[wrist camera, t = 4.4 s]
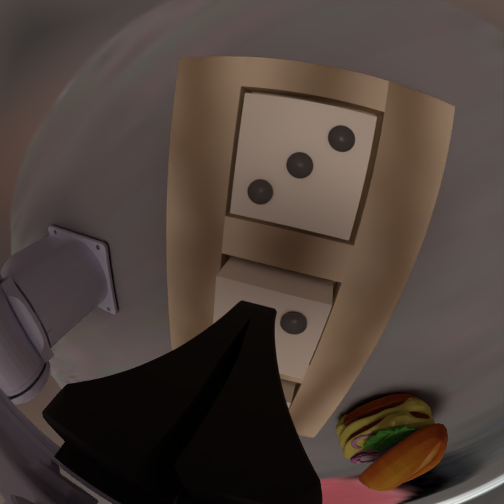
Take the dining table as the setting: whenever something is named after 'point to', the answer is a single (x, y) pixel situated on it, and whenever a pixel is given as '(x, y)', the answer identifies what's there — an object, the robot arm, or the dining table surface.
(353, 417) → the cheeseburger
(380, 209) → the tile board
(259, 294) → the two dot tile
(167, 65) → the dining table surface
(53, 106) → the dining table surface
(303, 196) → the three dot tile
